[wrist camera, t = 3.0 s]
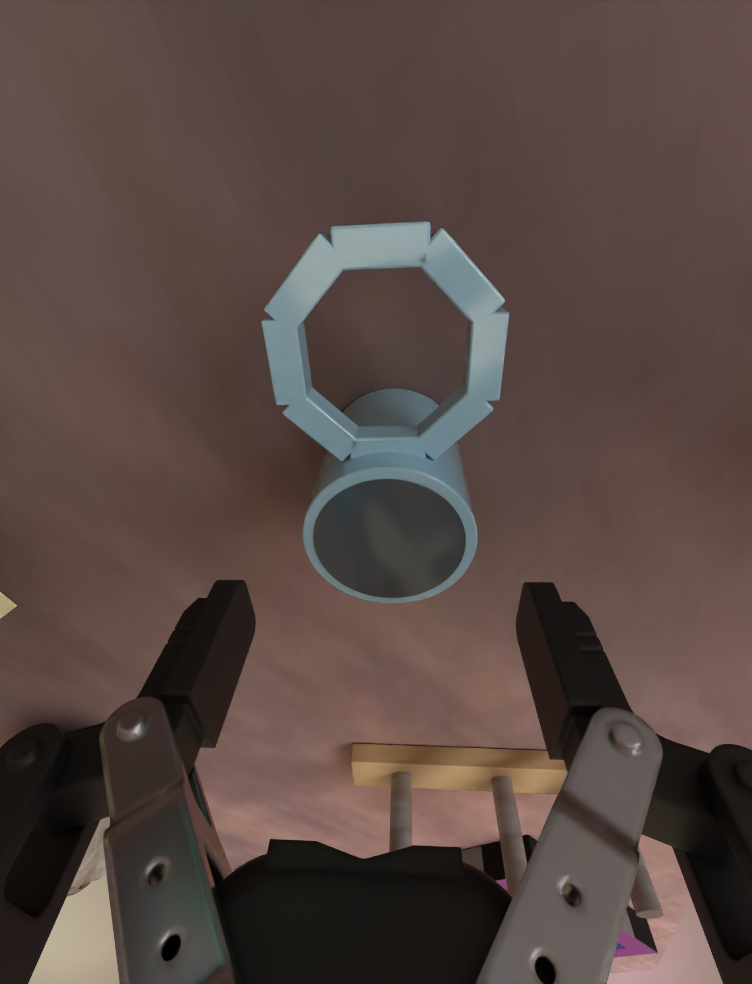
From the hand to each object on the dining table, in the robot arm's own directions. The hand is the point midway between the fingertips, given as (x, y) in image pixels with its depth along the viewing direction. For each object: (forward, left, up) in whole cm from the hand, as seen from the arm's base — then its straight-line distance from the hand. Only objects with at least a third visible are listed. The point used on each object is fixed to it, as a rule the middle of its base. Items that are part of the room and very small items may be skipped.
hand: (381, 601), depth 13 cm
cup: (0, -3, -10) cm, 10 cm away
